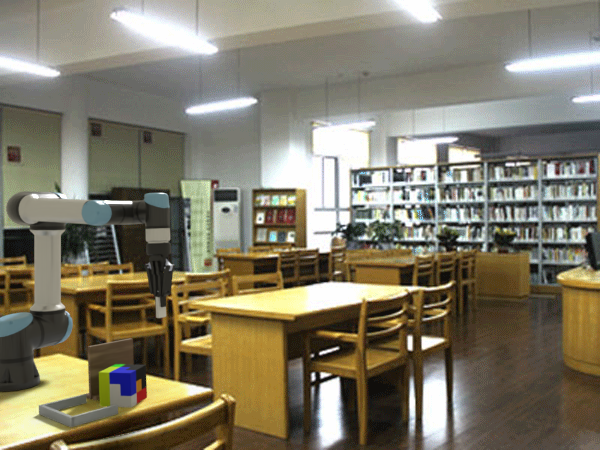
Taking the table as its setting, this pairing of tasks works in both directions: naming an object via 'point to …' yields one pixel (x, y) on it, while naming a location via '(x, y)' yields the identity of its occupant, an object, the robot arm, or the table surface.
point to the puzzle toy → (122, 385)
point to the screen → (106, 361)
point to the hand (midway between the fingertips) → (161, 317)
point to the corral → (52, 413)
